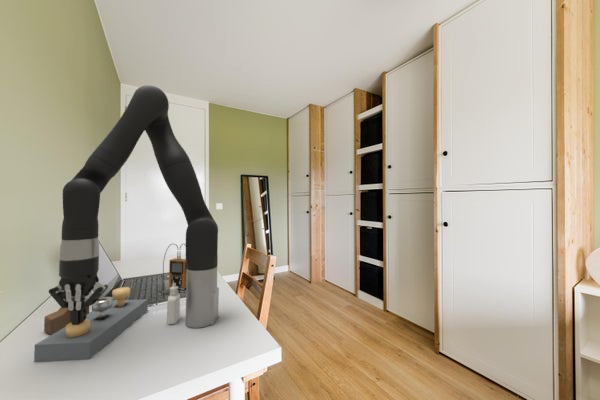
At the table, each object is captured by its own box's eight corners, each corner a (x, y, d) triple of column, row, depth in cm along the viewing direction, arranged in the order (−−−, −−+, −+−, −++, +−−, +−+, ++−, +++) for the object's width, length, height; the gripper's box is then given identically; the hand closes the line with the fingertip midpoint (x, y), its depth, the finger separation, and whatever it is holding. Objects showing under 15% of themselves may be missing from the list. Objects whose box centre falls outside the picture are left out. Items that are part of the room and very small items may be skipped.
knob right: (132, 305, 80) (133, 286, 81) (123, 311, 76) (124, 291, 76) (118, 305, 80) (118, 287, 80) (108, 311, 75) (109, 292, 76)
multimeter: (148, 295, 97) (149, 246, 98) (165, 286, 107) (166, 242, 108) (180, 297, 95) (181, 247, 95) (195, 289, 105) (196, 243, 105)
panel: (147, 310, 83) (147, 299, 83) (89, 359, 57) (89, 342, 57) (110, 312, 82) (110, 300, 82) (34, 361, 56) (34, 344, 56)
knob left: (94, 341, 64) (94, 318, 64) (80, 352, 59) (80, 327, 59) (75, 342, 63) (76, 319, 63) (59, 353, 58) (60, 328, 59)
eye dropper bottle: (185, 317, 78) (186, 281, 79) (172, 325, 73) (173, 286, 73) (174, 315, 79) (175, 279, 80) (160, 324, 74) (161, 285, 74)
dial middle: (115, 317, 72) (116, 295, 72) (104, 324, 67) (105, 301, 68) (99, 317, 72) (100, 296, 72) (87, 325, 67) (88, 302, 67)
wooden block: (49, 335, 67) (51, 271, 67) (43, 331, 69) (45, 269, 69) (89, 321, 75) (91, 264, 75) (82, 318, 77) (84, 263, 77)
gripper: (117, 252, 66) (115, 315, 66) (65, 253, 65) (63, 317, 64) (96, 258, 58) (94, 329, 58) (37, 259, 57) (35, 332, 57)
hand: (78, 323), depth 61 cm, fingers closed
